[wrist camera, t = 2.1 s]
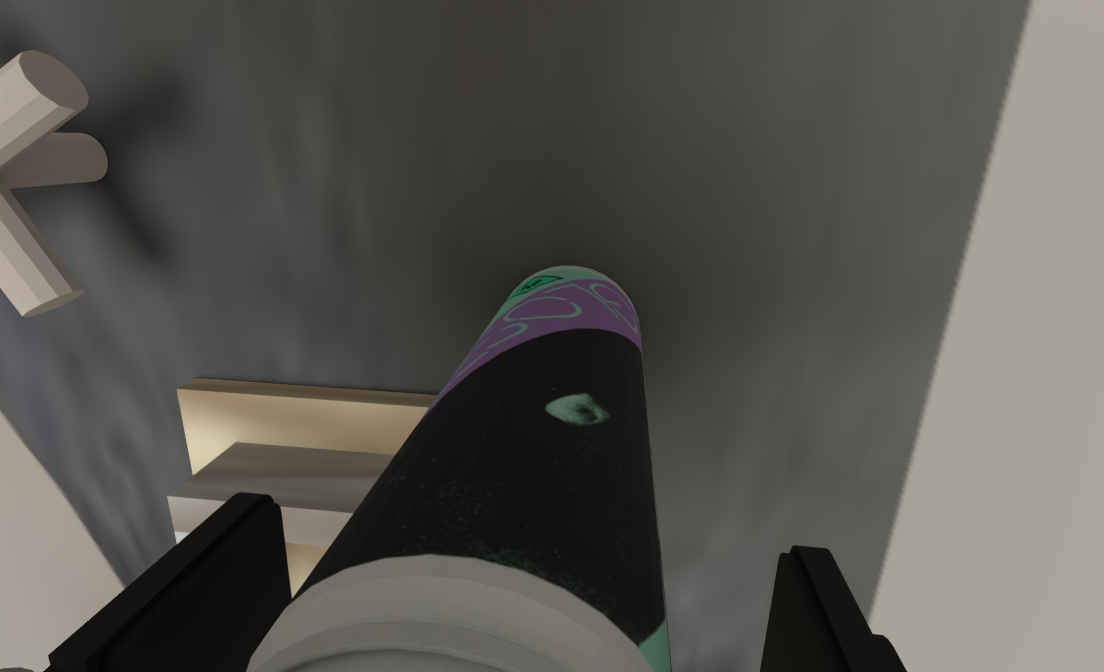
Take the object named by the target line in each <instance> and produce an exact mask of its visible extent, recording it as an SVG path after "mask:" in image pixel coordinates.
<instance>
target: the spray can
mask: <svg viewBox="0 0 1104 672" xmlns="http://www.w3.org/2000/svg"><path fill="white" fill-rule="evenodd" d="M246 672H672V669H671V658H670V647H669V636H668V626H667V615H666V604H665V593H664V582H663V571H662V560H661V550H660V539H659V528H658V517H657V506H656V495H655V484H654V474H653V463H652V452H651V441H650V430H649V419H648V408H647V397H646V387H645V376H644V365H643V354H642V343H641V333H640V326H639V320H638V317H637V314H636V312H635V309H634V306H633V304H632V302H631V301H630V299H629V298H628V296H627V294H626V293H625V292H624V291H623V290H622V289H621V288H620V287H619V285H618V284H617V283H615V282H614V281H613V280H611V279H610V278H608V277H607V276H606V275H604V274H602V273H599V272H597V271H595V270H593V269H590V268H585V267H581V266H571V265H562V266H556V267H550V268H547V269H544V270H542V271H539V272H536V273H535V274H533V275H532V276H530V277H528V278H527V279H525V280H524V281H523V282H522V283H521V284H520V285H519V286H518V287H517V288H516V289H515V290H513V292H512V293H511V294H510V296H509V297H508V299H507V300H506V301H505V303H504V304H503V306H502V307H501V308H500V310H499V311H498V313H497V314H496V315H495V317H494V318H493V320H492V321H491V322H490V324H489V325H488V326H487V328H486V329H485V331H484V332H483V333H482V335H481V336H480V338H479V339H478V340H477V342H476V343H475V345H474V346H473V347H472V349H471V350H470V352H469V353H468V354H467V356H466V357H465V359H464V360H463V361H462V363H461V364H460V366H459V367H458V368H457V370H456V371H455V372H454V374H453V375H452V377H451V378H450V379H449V381H448V382H447V384H446V385H445V386H444V388H443V389H442V391H441V392H440V393H439V395H438V396H437V398H436V399H435V400H434V402H433V403H432V405H431V406H430V407H429V409H428V410H427V412H426V413H425V414H424V416H423V417H422V418H421V420H420V421H419V423H418V424H417V425H416V427H415V428H414V430H413V431H412V432H411V434H410V435H409V437H408V438H407V439H406V441H405V442H404V444H403V445H402V446H401V448H400V449H399V451H398V452H397V453H396V455H395V456H394V457H393V459H392V460H391V462H390V463H389V464H388V466H387V467H386V469H385V470H384V471H383V473H382V474H381V476H380V477H379V478H378V480H377V481H376V483H375V484H374V485H373V487H372V488H371V490H370V491H369V492H368V494H367V495H366V497H365V498H364V499H363V501H362V502H361V503H360V505H359V506H358V508H357V509H356V510H355V512H354V513H353V515H352V516H351V517H350V519H349V520H348V522H347V523H346V524H345V526H344V527H343V529H342V530H341V531H340V533H339V534H338V536H337V537H336V538H335V540H334V541H333V542H332V544H331V545H330V547H329V548H328V549H327V551H326V552H325V554H324V555H323V556H322V558H321V559H320V561H319V562H318V563H317V565H316V566H315V568H314V569H313V570H312V572H311V573H310V575H309V576H308V577H307V579H306V580H305V582H304V583H303V584H302V586H301V587H300V588H299V590H298V591H297V593H296V594H295V595H294V597H293V598H292V600H291V601H290V602H289V604H288V605H287V607H286V608H285V609H284V611H283V612H282V614H281V615H280V616H279V618H278V619H277V621H276V622H275V623H274V625H273V626H272V628H271V629H270V630H269V632H268V633H267V635H266V636H265V638H264V639H263V641H262V642H261V643H260V645H259V646H258V648H257V649H256V651H255V652H254V654H253V655H252V657H251V659H250V662H249V665H248V668H247V671H246Z"/></svg>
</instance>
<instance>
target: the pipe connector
mask: <svg viewBox="0 0 1104 672" xmlns="http://www.w3.org/2000/svg"><path fill="white" fill-rule="evenodd" d="M88 99H89V96H88V94H87V92H86V90H85V87H84V85H83V83H82V82H81V81H80V80H79V79H78V77H77V76H76V75H75V74H74V73H73V72H72V71H71V70H70V69H69V68H68V67H67V66H65V65H64V64H62V63H61V62H60V61H58V60H57V59H55V58H54V57H52V56H50V55H47V54H45V53H42V52H39V51H36V50H30V51H24V52H21V53H20V54H19V55H17V56H16V57H15V58H14V59H12V60H11V61H10V62H8V63H7V64H6V65H5V66H3V67H2V68H1V69H0V288H1V289H2V290H3V292H4V293H5V294H6V296H7V297H8V298H9V299H10V301H11V302H12V303H13V305H14V306H15V307H16V309H17V310H18V311H19V312H20V314H21V315H22V316H23V317H25V318H26V317H30V316H35V315H38V314H41V313H44V312H46V311H49V310H52V309H54V308H56V307H59V306H61V305H63V304H66V303H68V302H69V301H71V300H73V299H75V298H77V297H79V296H80V295H81V294H82V293H84V290H83V289H82V288H81V286H80V285H79V283H78V282H77V281H76V279H75V278H74V277H73V275H72V274H71V273H70V271H69V270H68V269H67V267H66V266H65V265H64V263H63V262H62V260H61V259H60V258H59V256H58V255H57V254H56V252H55V251H54V250H53V248H52V247H51V246H50V244H49V243H48V242H47V240H46V239H45V238H44V236H43V235H42V233H41V232H40V231H39V229H38V228H37V227H36V225H35V224H34V223H33V221H32V220H31V219H30V217H29V216H28V215H27V213H26V212H25V210H24V209H23V208H22V206H21V205H20V204H19V202H18V201H17V200H16V198H15V197H14V196H13V194H12V193H11V192H10V190H9V189H10V188H22V187H35V186H47V185H59V184H71V183H83V182H94V181H98V180H100V179H101V178H103V177H104V176H105V174H106V172H107V168H108V159H107V156H106V152H105V150H104V149H103V147H102V145H101V144H100V143H99V142H98V141H97V140H96V139H95V138H93V137H92V136H90V135H88V134H84V133H52V132H54V131H55V130H56V129H58V128H59V127H60V126H62V125H63V124H64V123H66V122H67V121H69V120H70V119H71V118H73V117H74V116H75V115H77V114H78V113H79V112H81V111H82V110H84V109H85V108H86V107H87V104H88Z"/></svg>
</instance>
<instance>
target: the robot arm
mask: <svg viewBox="0 0 1104 672" xmlns="http://www.w3.org/2000/svg"><path fill="white" fill-rule="evenodd" d="M291 600H292V595H291V586H290V578H289V570H288V562H287V553H286V545H285V537H284V528H283V520H282V512H281V507H280V505H279V504H277V503H274V500H273V498H272V497H271V496H270V495H268V494H258V493H248V492H238V493H236V494H235V495H233V496H232V497H231V498H230V499H229V500H228V501H226V502H225V503H224V504H223V505H222V506H221V507H219V508H218V509H217V510H216V511H215V512H214V513H212V514H211V515H210V516H209V517H208V518H207V519H205V520H204V521H203V522H202V523H201V524H200V525H199V526H197V527H196V528H195V529H194V530H193V531H192V532H190V533H189V534H188V535H187V536H186V537H185V538H183V539H182V540H181V541H180V542H179V543H178V544H177V545H175V546H174V547H173V548H172V549H171V550H170V551H168V552H167V553H166V554H165V555H164V556H163V557H161V558H160V559H159V560H158V561H157V562H156V563H155V564H153V565H152V566H151V567H150V568H149V569H148V570H146V571H145V572H144V573H143V574H142V575H141V576H139V577H138V578H137V579H136V580H135V581H134V582H133V583H131V584H130V585H129V586H128V587H127V588H126V589H124V590H123V591H122V592H121V593H120V594H119V595H117V596H116V597H115V598H114V599H113V600H112V601H111V602H109V603H108V604H107V605H106V606H105V607H104V608H102V609H101V610H100V611H99V612H98V613H97V614H95V615H94V616H93V617H92V618H91V619H90V620H89V621H87V622H86V623H85V624H84V625H83V626H82V627H80V628H79V629H78V630H77V631H76V632H75V633H73V634H72V635H71V636H70V637H69V638H68V639H67V640H65V641H64V642H63V643H62V644H61V645H60V646H59V647H57V648H56V649H55V650H54V651H53V652H51V653H50V654H49V655H48V657H49V661H50V666H49V667H48V668H47V669H46V670H45V671H43V672H246V671H247V668H248V665H249V662H250V659H251V657H252V655H253V654H254V652H255V651H256V649H257V648H258V646H259V645H260V643H261V642H262V641H263V639H264V638H265V636H266V635H267V633H268V632H269V630H270V629H271V628H272V626H273V625H274V623H275V622H276V621H277V619H278V618H279V616H280V615H281V614H282V612H283V611H284V609H285V608H286V607H287V605H288V604H289V602H290V601H291ZM0 672H34V671H32V670H29V669H24V668H4V669H0ZM760 672H907V671H906V669H905V667H904V665H903V664H902V662H901V660H900V658H899V656H898V654H897V652H896V651H895V649H894V647H893V646H892V644H891V643H890V641H889V640H888V639H887V638H886V637H884V636H883V635H876V634H872V632H871V630H870V628H869V626H868V624H867V622H866V620H865V618H864V616H863V614H862V612H861V610H860V609H859V607H858V605H857V603H856V601H855V599H854V597H853V595H852V593H851V591H850V589H849V587H848V585H847V583H846V581H845V579H844V577H843V575H842V573H841V571H840V570H839V568H838V566H837V564H836V562H835V560H834V558H833V556H832V554H831V552H830V551H829V550H828V549H826V548H817V547H807V546H797V545H794V546H792V548H791V550H790V553H781V554H780V556H779V560H778V566H777V572H776V578H775V584H774V590H773V596H772V602H771V608H770V614H769V620H768V626H767V632H766V638H765V644H764V650H763V656H762V662H761V668H760Z"/></svg>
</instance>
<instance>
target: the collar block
mask: <svg viewBox="0 0 1104 672" xmlns="http://www.w3.org/2000/svg"><path fill="white" fill-rule="evenodd" d="M177 393H178V399H179V404H180V409H181V414H182V420H183V425H184V430H185V435H186V441H187V446H188V451H189V456H190V462H191V467H192V472H193V476H192V477H191V478H189V479H188V480H187V481H186V482H184V483H183V484H182V485H180V486H179V487H178V488H177V489H175V490H174V491H173V492H172V493H170V494H169V495H168V496H167V498H168V503H169V508H170V512H171V517H172V522H173V527H174V531H175V536H176V541H177V544H178V543H179V542H180V541H181V540H182V539H183V538H185V537H186V536H187V535H188V534H189V533H190V532H192V531H193V530H194V529H195V528H196V527H197V526H199V525H200V524H201V523H202V522H203V521H204V520H205V519H207V518H208V517H209V516H210V515H211V514H212V513H214V512H215V511H216V510H217V509H218V508H219V507H221V506H222V505H223V504H224V503H225V502H226V501H228V500H229V499H230V498H231V497H232V496H233V495H235V494H236V493H238V492H248V493H258V494H268V495H270V496H271V497H272V498H273V500H274V503H277V504H279V505H280V507H281V512H282V520H283V528H284V537H285V545H286V553H287V562H288V570H289V578H290V586H291V595H292V598H293V597H294V595H295V594H296V593H297V591H298V590H299V588H300V587H301V586H302V584H303V583H304V582H305V580H306V579H307V577H308V576H309V575H310V573H311V572H312V570H313V569H314V568H315V566H316V565H317V563H318V562H319V561H320V559H321V558H322V556H323V555H324V554H325V552H326V551H327V549H328V548H329V547H330V545H331V544H332V542H333V541H334V540H335V538H336V537H337V536H338V534H339V533H340V531H341V530H342V529H343V527H344V526H345V524H346V523H347V522H348V520H349V519H350V517H351V516H352V515H353V513H354V512H355V510H356V509H357V508H358V506H359V505H360V503H361V502H362V501H363V499H364V498H365V497H366V495H367V494H368V492H369V491H370V490H371V488H372V487H373V485H374V484H375V483H376V481H377V480H378V478H379V477H380V476H381V474H382V473H383V471H384V470H385V469H386V467H387V466H388V464H389V463H390V462H391V460H392V459H393V457H394V456H395V455H396V453H397V452H398V451H399V449H400V448H401V446H402V445H403V444H404V442H405V441H406V439H407V438H408V437H409V435H410V434H411V432H412V431H413V430H414V428H415V427H416V425H417V424H418V423H419V421H420V420H421V418H422V417H423V416H424V414H425V413H426V412H427V410H428V409H429V407H430V406H431V405H432V403H433V402H434V400H435V399H436V398H437V396H438V395H428V394H414V393H400V392H387V391H373V390H359V389H345V388H331V387H317V386H303V385H289V384H275V383H261V382H247V381H233V380H219V379H205V378H195V379H193V380H192V381H190V382H188V383H186V384H185V385H183V386H181V387H179V388H177Z"/></svg>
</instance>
